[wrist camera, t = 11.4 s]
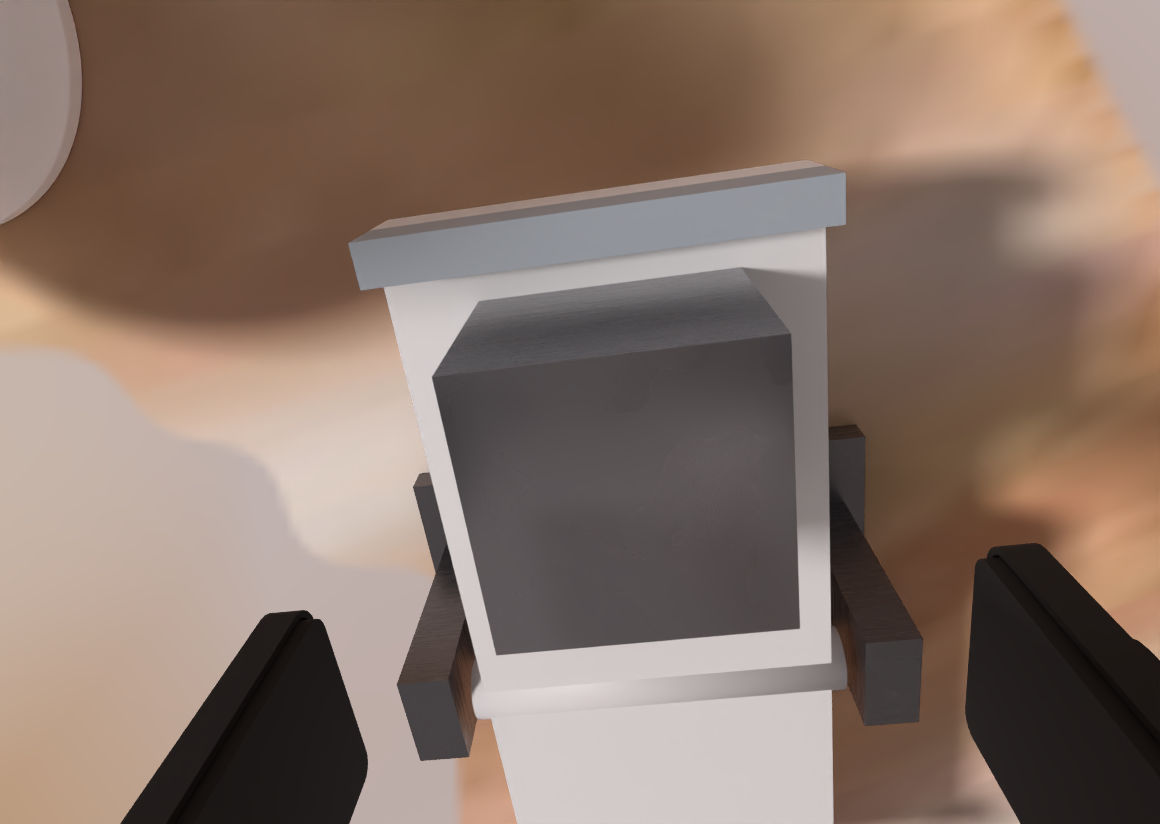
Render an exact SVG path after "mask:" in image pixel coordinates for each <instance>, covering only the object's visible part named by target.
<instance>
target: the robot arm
mask: <svg viewBox="0 0 1160 824" xmlns="http://www.w3.org/2000/svg"><path fill="white" fill-rule="evenodd" d="M965 713H966V720H967V724H968V728H969V730H970V733H971V735H972V738H973V740H974V741H975V743H976V745H977V747H978V749H979V750H980V752H981V754H982V756H983V757H984V759H985V761H986V763H987V765H988V766H989V768H990V770H991V772H992V773H993V775H994V777H995V779H996V781H997V782H998V784H999V786H1000V788H1001V789H1002V791H1003V793H1004V795H1005V797H1006V798H1007V800H1008V802H1009V804H1010V806H1011V807H1012V809H1013V811H1014V813H1015V814H1016V816H1017V818H1018V820H1019V822H1020V823H1021V824H1160V660H1159V659H1158V658H1157V657H1156V656H1155V655H1154V654H1153V653H1152V652H1151V651H1150V650H1149V649H1148V648H1147V647H1145V646H1144V645H1143V644H1142V643H1140V642H1139V641H1138V640H1135V639H1132V638H1131V637H1130V636H1129V634H1128V633H1127V632H1126V631H1125V630H1124V629H1123V628H1122V627H1121V626H1120V625H1119V624H1118V623H1117V622H1116V621H1115V620H1114V619H1113V618H1112V617H1111V616H1110V615H1109V614H1108V613H1107V612H1106V611H1105V610H1104V609H1103V608H1102V607H1101V605H1100V604H1099V603H1098V602H1097V601H1096V600H1095V599H1094V598H1093V597H1092V596H1091V595H1090V594H1089V593H1088V592H1087V591H1086V590H1085V589H1084V588H1083V587H1082V586H1081V585H1080V584H1079V583H1078V582H1077V581H1076V580H1075V579H1074V578H1073V576H1072V575H1071V574H1070V573H1069V572H1068V571H1067V570H1066V569H1065V568H1064V567H1063V566H1062V565H1061V564H1060V563H1059V562H1058V561H1057V560H1056V559H1055V558H1054V557H1053V556H1052V555H1051V554H1050V553H1049V552H1048V551H1047V550H1046V549H1045V548H1044V547H1043V546H1042V545H1040V544H1037V543H1031V544H1020V545H1009V546H998V547H993V548H991V549H990V551H989V553H988V556H987V558H986V559H979V560H978V561H977V563H976V566H975V576H974V590H973V605H972V619H971V634H970V648H969V662H968V677H967V691H966V706H965ZM367 769H368V759H367V752H366V749H365V746H364V743H363V740H362V737H361V734H360V731H359V727H358V724H357V721H356V718H355V716H354V713H353V709H352V707H351V704H350V700H349V697H348V695H347V691H346V688H345V685H344V683H343V680H342V676H341V673H340V670H339V667H338V664H337V661H336V658H335V655H334V652H333V649H332V646H331V643H330V640H329V637H328V634H327V631H326V628H325V626H324V624H323V622H322V621H321V620H320V619H313V617H312V615H311V614H310V613H309V612H308V611H305V610H301V611H290V612H279V613H269V614H267V615H265V616H264V617H263V618H262V619H261V620H260V622H259V623H258V625H257V626H256V628H255V629H254V631H253V632H252V633H251V635H250V636H249V638H248V639H247V641H246V642H245V644H244V645H243V647H242V648H241V649H240V651H239V652H238V654H237V655H236V657H235V658H234V660H233V661H232V662H231V664H230V665H229V667H228V668H227V670H226V671H225V673H224V674H223V676H222V677H221V678H220V680H219V681H218V683H217V684H216V686H215V687H214V689H213V690H212V691H211V693H210V694H209V696H208V697H207V699H206V700H205V702H204V703H203V705H202V706H201V707H200V709H199V710H198V712H197V713H196V715H195V716H194V718H193V719H192V721H191V722H190V724H189V725H188V727H187V728H186V729H185V731H184V732H183V734H182V735H181V736H180V738H179V740H178V741H177V742H176V744H175V745H174V747H173V748H172V750H171V751H170V752H169V754H168V755H167V757H166V758H165V760H164V761H163V763H162V764H161V765H160V767H159V768H158V770H157V771H156V773H155V774H154V776H153V777H152V779H151V780H150V781H149V783H148V784H147V786H146V787H145V789H144V790H143V792H142V793H141V795H140V796H139V798H138V799H137V800H136V802H135V803H134V805H133V806H132V808H131V809H130V810H129V812H128V813H127V815H126V816H125V818H124V819H123V821H122V822H121V824H349V823H350V820H351V817H352V815H353V812H354V809H355V806H356V804H357V801H358V798H359V796H360V793H361V790H362V788H363V785H364V782H365V779H366V775H367Z"/></svg>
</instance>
